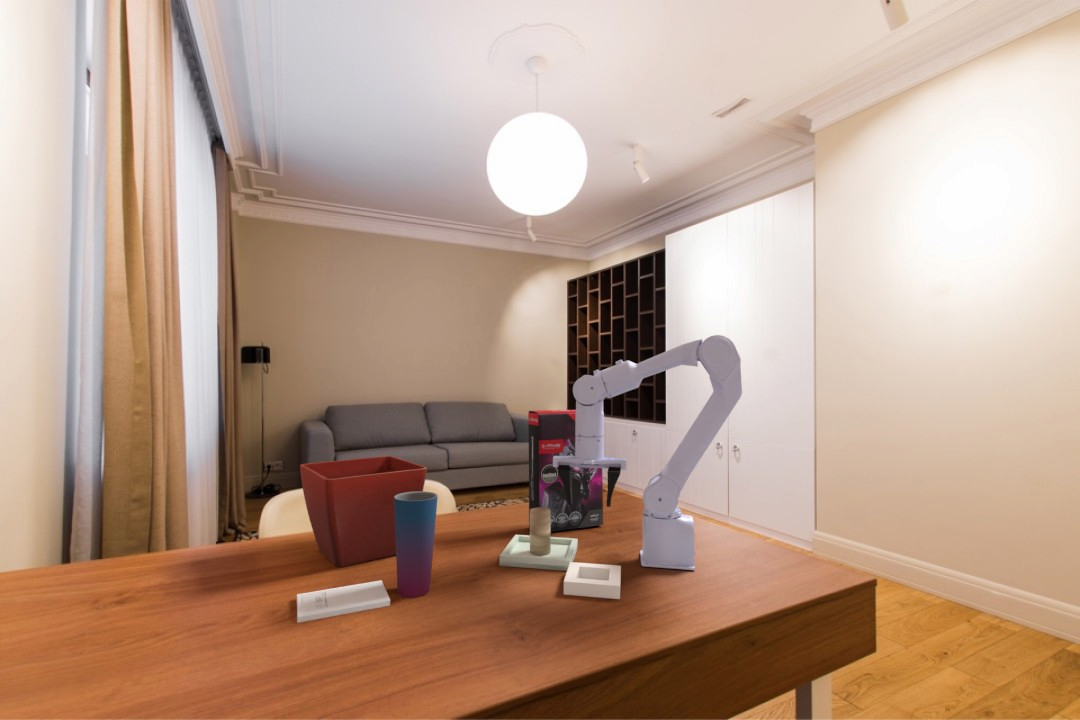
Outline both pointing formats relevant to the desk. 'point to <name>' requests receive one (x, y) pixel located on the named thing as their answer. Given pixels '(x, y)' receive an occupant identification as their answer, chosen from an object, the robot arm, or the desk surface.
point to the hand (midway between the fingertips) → (589, 504)
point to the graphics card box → (546, 489)
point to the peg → (540, 531)
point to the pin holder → (593, 580)
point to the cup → (414, 541)
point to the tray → (556, 560)
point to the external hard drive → (341, 600)
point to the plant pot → (357, 505)
